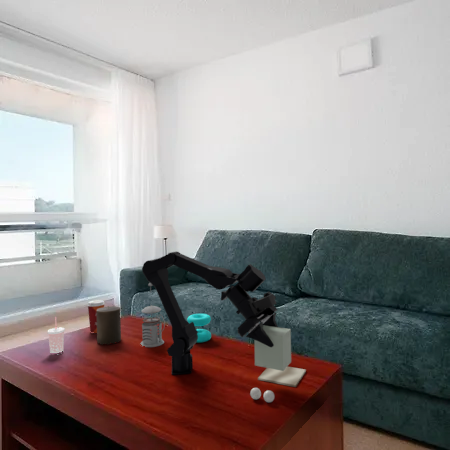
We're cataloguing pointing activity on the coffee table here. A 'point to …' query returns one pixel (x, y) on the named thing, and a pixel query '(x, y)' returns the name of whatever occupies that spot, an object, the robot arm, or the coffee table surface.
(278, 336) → the bulging sage box
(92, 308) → the paper cup
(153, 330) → the french press
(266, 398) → the marble
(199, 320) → the donuts
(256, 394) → the marble
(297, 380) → the birch coaster
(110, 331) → the pillar candle
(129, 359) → the coffee table surface
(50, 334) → the beverage cup
